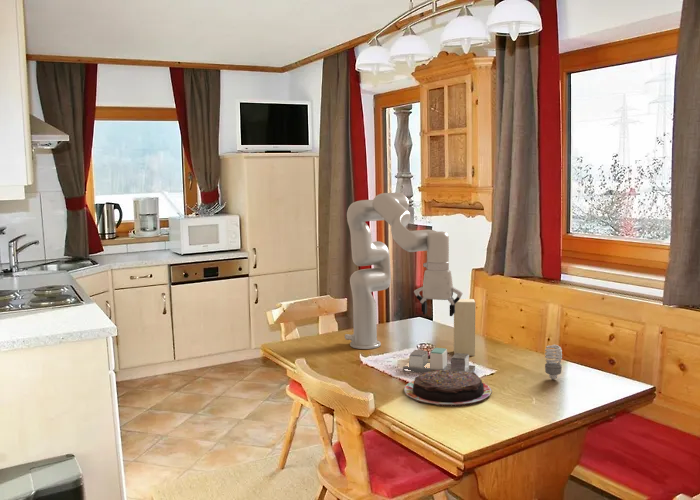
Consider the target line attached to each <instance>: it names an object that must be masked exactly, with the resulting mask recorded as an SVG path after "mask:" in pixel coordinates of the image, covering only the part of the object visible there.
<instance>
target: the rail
mask: <svg viewBox="0 0 700 500" xmlns="http://www.w3.org/2000/svg"><path fill="white" fill-rule="evenodd" d="M408 356H409V357H408V360H409V361H408V362H409V367H408V366H405V365H404V366H403V367H402V371H403V370H404V369H408V370H411V371H414V372H413V373H417V374H420V373H421V374H423V373H424V372H425V373H426V372H429V371H431V370H435V369H432V368H427V367H426V368H425V367H424V366H425V365H426V364H427V363H430V361H429V352H428V350H422V349H414V350H413V351H412V352H410V354H409V355H408ZM447 369H448V370H449V371H461V372H469V373H472V372H474V373H475V371H476V365H472V364H471V365H470V356H469V355H468V354H464V353H455V354H453V355H452V357H451V358H450V363H448V362H447V365H446V366H445V367H444V369H436V370H447ZM419 372H420V373H419ZM422 372H423V373H422Z"/></svg>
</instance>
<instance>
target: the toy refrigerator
mask: <svg viewBox="0 0 700 500" xmlns="http://www.w3.org/2000/svg"><path fill="white" fill-rule="evenodd" d="M455 299H456V298H454V300H455ZM453 353H454V354H455V353H464V354H468V355H469V357H470V356H473V357H474V356H476V301H475V299H474V298H460V300H459V301H458V302H456V303H455V313H454V314H453ZM454 354H453V355H454Z"/></svg>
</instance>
